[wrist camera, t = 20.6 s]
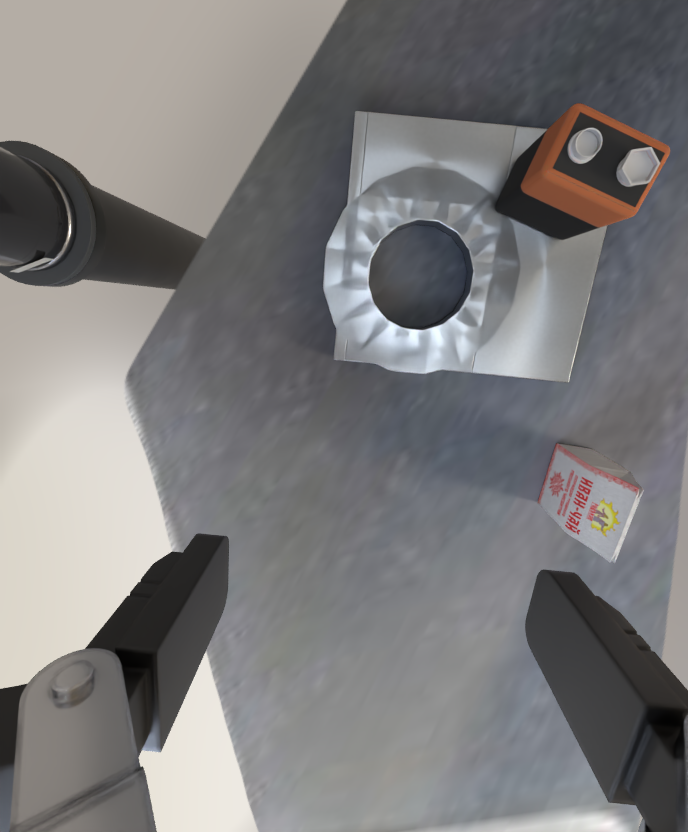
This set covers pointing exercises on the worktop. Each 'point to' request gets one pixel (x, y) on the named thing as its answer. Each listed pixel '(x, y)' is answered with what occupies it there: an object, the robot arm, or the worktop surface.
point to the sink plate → (478, 240)
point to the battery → (582, 174)
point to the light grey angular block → (590, 498)
